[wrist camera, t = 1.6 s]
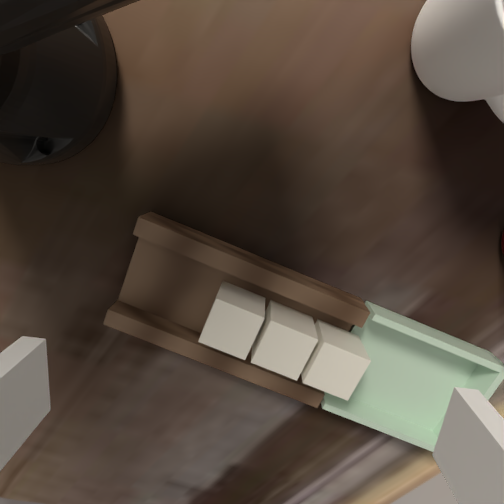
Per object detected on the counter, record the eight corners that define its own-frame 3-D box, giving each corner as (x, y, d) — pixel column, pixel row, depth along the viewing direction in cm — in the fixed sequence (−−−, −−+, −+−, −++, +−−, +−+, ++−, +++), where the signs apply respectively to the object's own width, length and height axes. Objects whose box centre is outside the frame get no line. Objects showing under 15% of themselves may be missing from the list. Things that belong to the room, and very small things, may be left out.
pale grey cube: (206, 319, 32) (198, 341, 28) (222, 280, 31) (216, 298, 27) (247, 335, 32) (245, 360, 28) (265, 297, 31) (264, 318, 27)
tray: (317, 388, 34) (322, 408, 31) (366, 300, 32) (375, 313, 29) (433, 434, 35) (447, 457, 32) (490, 351, 32) (510, 369, 30)
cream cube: (298, 355, 32) (302, 382, 28) (317, 319, 31) (324, 341, 27) (338, 371, 32) (347, 400, 29) (358, 335, 31) (371, 360, 28)
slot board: (117, 309, 33) (102, 324, 30) (150, 211, 30) (138, 217, 28) (313, 386, 34) (317, 408, 31) (361, 298, 32) (370, 312, 29)
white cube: (253, 337, 32) (250, 362, 28) (270, 299, 31) (270, 320, 27) (293, 353, 32) (296, 380, 28) (312, 316, 31) (318, 339, 27)
